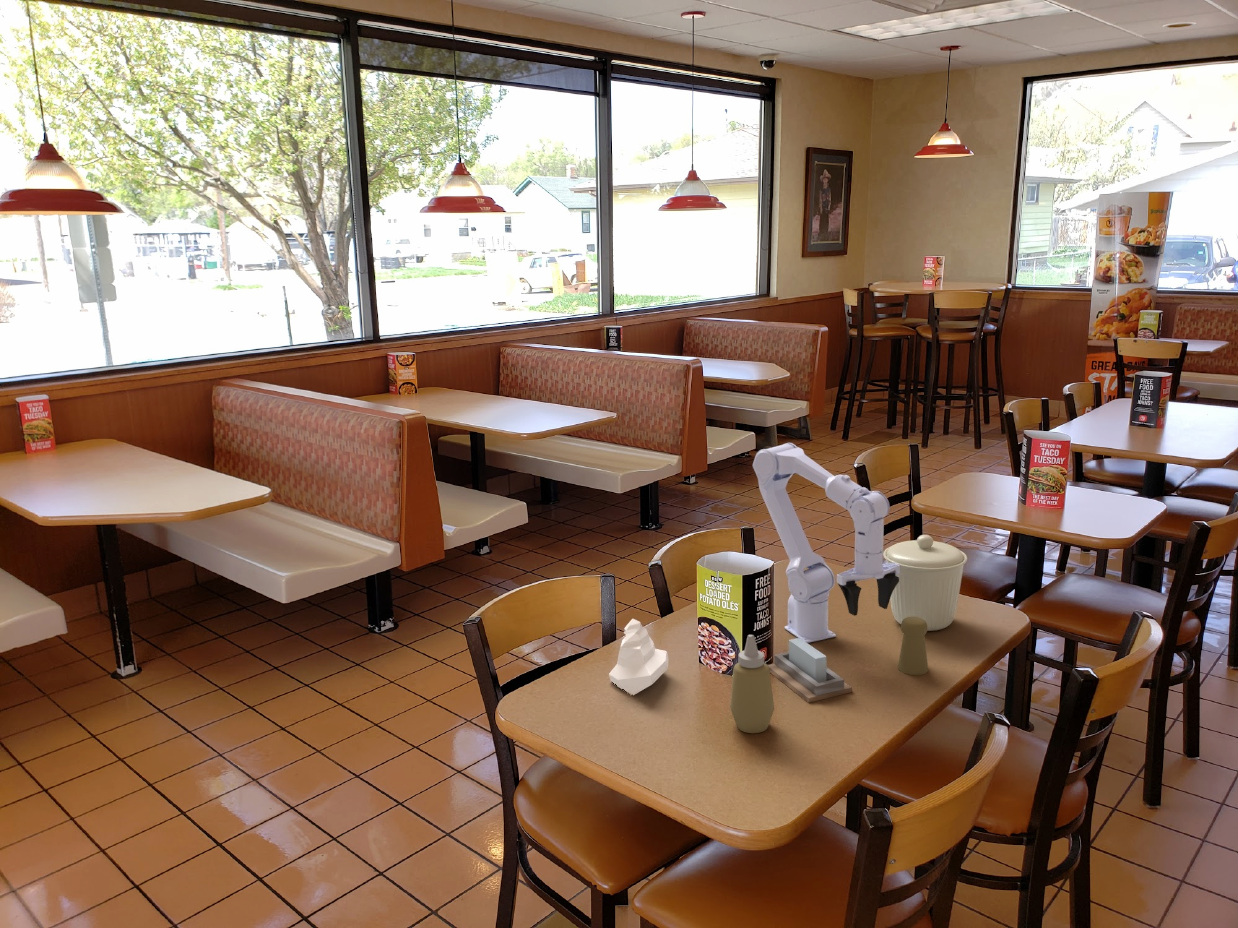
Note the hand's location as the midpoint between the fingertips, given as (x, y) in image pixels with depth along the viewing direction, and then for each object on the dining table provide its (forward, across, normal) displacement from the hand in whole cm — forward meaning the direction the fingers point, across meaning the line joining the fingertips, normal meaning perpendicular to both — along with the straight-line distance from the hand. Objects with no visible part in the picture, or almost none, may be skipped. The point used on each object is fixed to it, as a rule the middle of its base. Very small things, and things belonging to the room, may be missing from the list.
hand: (868, 610), depth 194 cm
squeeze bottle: (+10, -37, -16) cm, 42 cm away
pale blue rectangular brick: (+9, -18, -5) cm, 21 cm away
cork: (+10, +4, -10) cm, 15 cm away
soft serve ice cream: (+10, -49, +10) cm, 51 cm away
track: (+10, -18, -5) cm, 21 cm away
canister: (+10, +21, +8) cm, 25 cm away
